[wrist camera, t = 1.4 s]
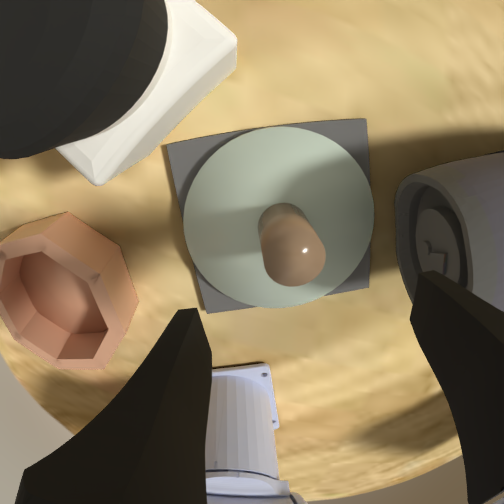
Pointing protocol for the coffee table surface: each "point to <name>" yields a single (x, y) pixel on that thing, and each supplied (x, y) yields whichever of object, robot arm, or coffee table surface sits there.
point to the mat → (200, 149)
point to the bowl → (65, 292)
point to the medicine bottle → (104, 77)
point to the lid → (278, 217)
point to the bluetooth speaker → (454, 225)
